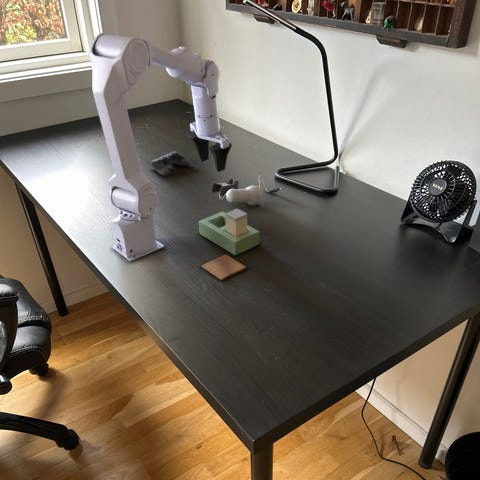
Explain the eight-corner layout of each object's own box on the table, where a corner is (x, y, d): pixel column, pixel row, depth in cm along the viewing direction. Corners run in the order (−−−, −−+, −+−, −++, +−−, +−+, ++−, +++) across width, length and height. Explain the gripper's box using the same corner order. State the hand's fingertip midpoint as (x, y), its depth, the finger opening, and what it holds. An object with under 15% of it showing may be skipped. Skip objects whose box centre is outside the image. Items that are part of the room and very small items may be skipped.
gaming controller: (166, 177, 147) (161, 160, 145) (149, 176, 152) (144, 160, 149) (192, 164, 155) (188, 148, 152) (176, 164, 159) (171, 148, 157)
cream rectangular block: (236, 249, 116) (235, 218, 111) (226, 243, 118) (225, 213, 113) (247, 243, 118) (247, 213, 113) (237, 238, 120) (237, 208, 115)
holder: (235, 255, 114) (234, 242, 112) (199, 233, 122) (198, 221, 120) (259, 244, 118) (259, 231, 116) (222, 223, 126) (222, 211, 124)
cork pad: (221, 280, 106) (221, 278, 106) (202, 267, 110) (201, 265, 110) (245, 268, 110) (245, 266, 110) (225, 256, 114) (225, 254, 114)
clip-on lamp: (261, 194, 145) (208, 196, 136) (264, 172, 142) (210, 172, 133) (284, 206, 137) (230, 208, 127) (289, 183, 134) (233, 184, 124)
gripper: (237, 116, 116) (241, 169, 126) (203, 100, 125) (209, 151, 134) (213, 125, 113) (219, 179, 123) (180, 108, 122) (188, 159, 132)
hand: (212, 165), depth 128 cm, fingers open, 7 cm apart
